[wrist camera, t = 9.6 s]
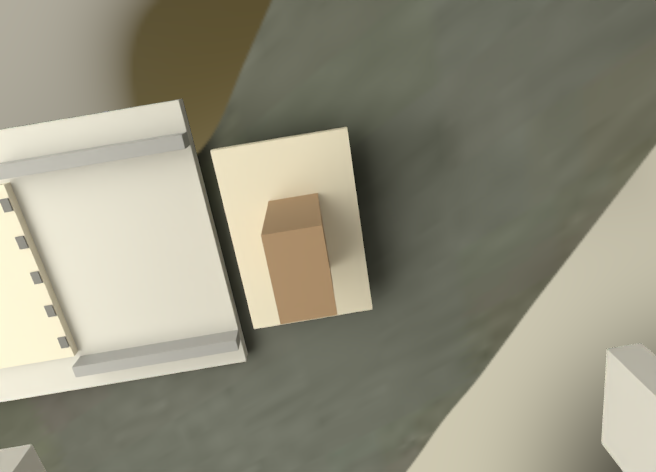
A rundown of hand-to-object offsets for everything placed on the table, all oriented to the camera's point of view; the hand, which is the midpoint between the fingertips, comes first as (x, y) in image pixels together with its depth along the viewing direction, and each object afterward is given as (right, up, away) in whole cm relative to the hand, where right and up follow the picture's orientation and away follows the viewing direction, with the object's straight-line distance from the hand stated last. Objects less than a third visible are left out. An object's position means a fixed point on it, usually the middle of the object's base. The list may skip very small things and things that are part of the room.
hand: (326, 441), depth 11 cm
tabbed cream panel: (-2, +5, +19) cm, 20 cm away
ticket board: (-19, +3, +20) cm, 28 cm away
